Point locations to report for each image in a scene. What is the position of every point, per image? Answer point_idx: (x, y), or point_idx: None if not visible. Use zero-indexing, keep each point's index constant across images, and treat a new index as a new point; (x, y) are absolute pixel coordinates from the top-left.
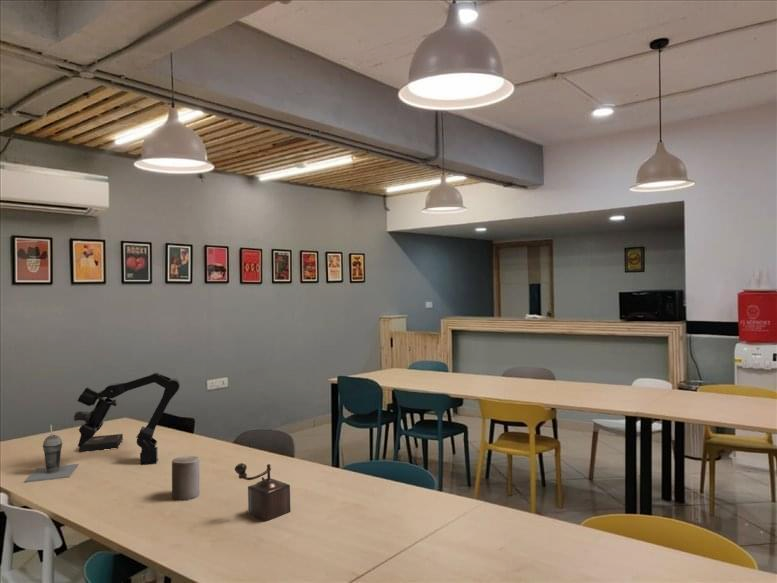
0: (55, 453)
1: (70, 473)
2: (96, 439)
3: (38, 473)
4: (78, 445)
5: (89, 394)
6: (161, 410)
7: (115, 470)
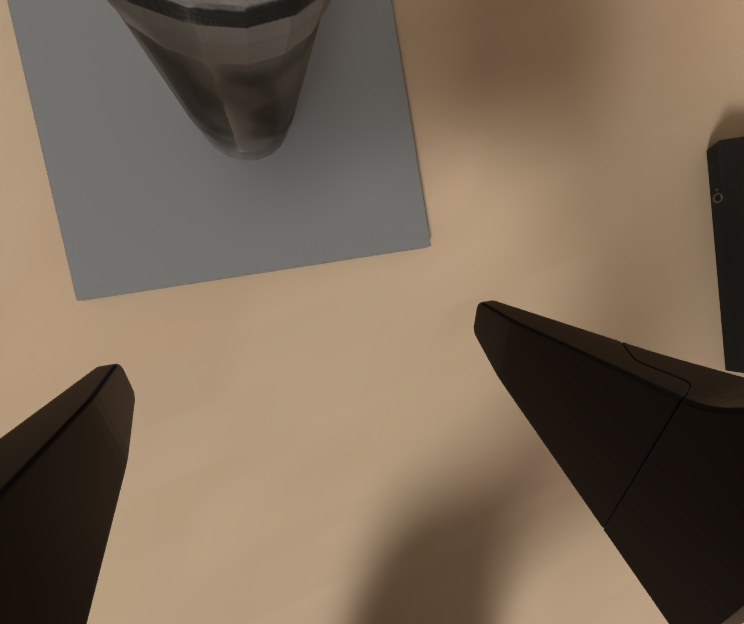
0: (136, 32)
1: (156, 283)
2: None
3: None
4: (89, 381)
5: None
6: None
7: (209, 608)
